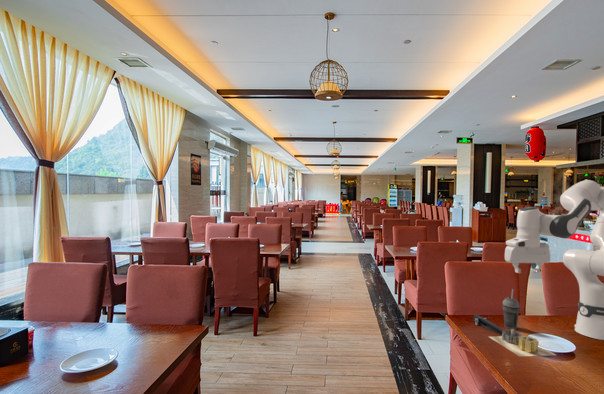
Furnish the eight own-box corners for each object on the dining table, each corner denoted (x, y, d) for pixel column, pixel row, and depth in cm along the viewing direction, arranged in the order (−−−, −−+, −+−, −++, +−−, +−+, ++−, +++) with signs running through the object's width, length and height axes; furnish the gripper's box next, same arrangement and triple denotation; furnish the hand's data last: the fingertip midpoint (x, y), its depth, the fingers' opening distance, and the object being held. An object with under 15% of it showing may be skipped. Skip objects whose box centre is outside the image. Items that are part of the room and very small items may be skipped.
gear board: (521, 338, 146) (521, 325, 146) (556, 358, 128) (557, 343, 128) (488, 339, 144) (488, 325, 144) (519, 359, 127) (519, 344, 127)
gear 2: (529, 345, 136) (529, 335, 136) (542, 353, 130) (542, 342, 129) (514, 346, 135) (514, 335, 135) (527, 353, 129) (527, 342, 129)
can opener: (469, 324, 162) (469, 313, 162) (481, 323, 163) (481, 312, 163) (498, 340, 144) (498, 327, 144) (511, 339, 146) (511, 326, 146)
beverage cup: (514, 327, 159) (515, 286, 159) (522, 333, 151) (523, 290, 151) (498, 326, 159) (499, 285, 159) (506, 332, 152) (507, 290, 152)
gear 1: (508, 335, 146) (508, 328, 146) (528, 342, 139) (528, 335, 139) (497, 338, 142) (498, 332, 142) (517, 346, 135) (517, 339, 135)
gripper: (542, 241, 153) (542, 270, 153) (502, 241, 151) (501, 271, 151) (554, 243, 147) (554, 274, 147) (512, 243, 144) (512, 274, 144)
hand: (527, 272), depth 149 cm, fingers open, 8 cm apart
